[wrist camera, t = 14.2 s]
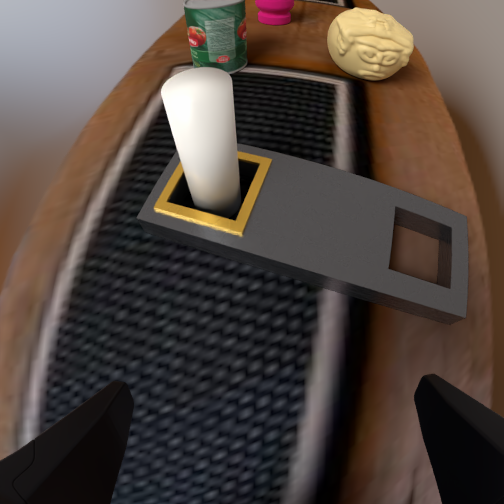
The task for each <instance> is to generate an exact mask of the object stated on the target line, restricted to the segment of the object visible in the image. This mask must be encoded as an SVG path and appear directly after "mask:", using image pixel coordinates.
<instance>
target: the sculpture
mask: <svg viewBox="0 0 504 504" xmlns="http://www.w3.org/2000/svg"><path fill="white" fill-rule="evenodd" d="M327 42H328V49H329V52H330V55H331V57H332V59H333V60H334V62H335V63H336V64H337V65H338V66H339V67H340V68H341V69H342V70H343V71H345V72H346V73H348V74H350V75H352V76H355V77H358V78H361V79H365V80H373V81H375V80H382V79H386V78H388V77H390V76H392V75H393V74H394V73H396V72H397V71H398V70H399V69H400V68H401V67H404V66H406V65H407V63H408V61H409V56H410V55H411V53H412V51H413V48H414V46H413V36H412V34H411V33H410V32H409V31H408V30H407V29H405V28H404V27H403V26H402V25H401V24H399V23H398V22H396V20H395V19H394V18H393V17H392V16H391V15H388V14H382V13H380V12H378V11H376V10H368V9H360V8H354V9H351V10H347V11H345V12H343V13H341V14H340V15H338V16H337V17H336V18H335V19H334V20H333V22H332V24H331V26H330V28H329V31H328V38H327Z"/></svg>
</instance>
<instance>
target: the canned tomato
mask: <svg viewBox="0 0 504 504" xmlns="http://www.w3.org/2000/svg"><path fill="white" fill-rule="evenodd" d="M183 5H184V10H185V17H186V24H187V30H188V36H189V42H190V48H191V54H192V60H193V67H194V68H200V67H211V68H217V69H221V70H223V71H225V72H227V73H228V74H232V73H235V72H238V71H240V70H242V69H243V68H244V67H245V66H246V65H247V45H246V43H247V42H246V17H245V14H246V13H245V0H185V1H184V3H183Z"/></svg>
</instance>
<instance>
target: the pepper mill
mask: <svg viewBox="0 0 504 504" xmlns="http://www.w3.org/2000/svg"><path fill="white" fill-rule="evenodd" d="M255 3H256V6H257V7H258V8H259V9H260V10H261V11H259V12H258V20H259V21H260V22H261V23H264V24H268V25H284V24H288V23H289V22H290V21H291V14H290V13H289V12H288V11H289V10H291V9H292V8H293V6H294V0H256V1H255Z"/></svg>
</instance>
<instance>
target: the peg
mask: <svg viewBox="0 0 504 504" xmlns="http://www.w3.org/2000/svg"><path fill="white" fill-rule="evenodd" d="M161 94H162V98H163V102H164V105H165V109H166V112H167V116H168V119H169V123H170V126H171V130H172V133H173V137H174V140H175V143H176V147H177V150H178V153H179V157H180V160H181V163H182V167H183V170H184V173H185V177H186V180H187V183H188V186H189V189H190V193H191V196H192V199H193V202H194V205H195V208H196V210H198V211H202V212H206V213H209V214H213V215H216V216H220V217H224V218H227V219H228V218H230V217H231V216H233V215H234V214H235V213H236V212H237V211H238V209H239V207H240V205H241V190H240V178H239V166H238V153H237V140H236V128H235V115H234V102H233V88H232V79H231V76H230V75H229V74H228V73H227V72H225V71H223V70H221V69H217V68H211V67H200V68H193V69H189V70H186V71H183V72H180V73H178V74H176V75H174V76H173V77H171V78H170V79H169V80H167V82H166V83H165V84H164V85H163V87H162V90H161Z"/></svg>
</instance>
